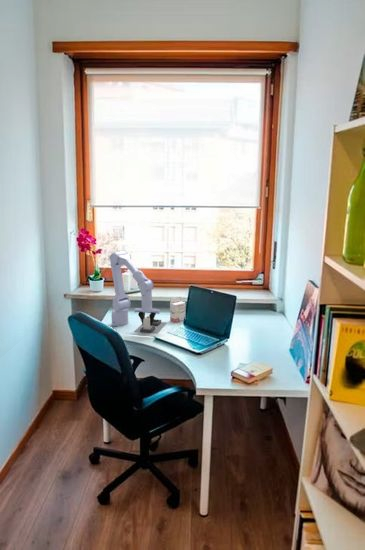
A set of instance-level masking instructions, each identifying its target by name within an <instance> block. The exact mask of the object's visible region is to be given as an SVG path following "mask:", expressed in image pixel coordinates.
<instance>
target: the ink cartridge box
mask: <svg viewBox="0 0 365 550" xmlns="http://www.w3.org/2000/svg"><path fill="white" fill-rule="evenodd" d="M181 297H182V296H176V297H171V298H170V302H169V320H170V322H173V323H179V322H183V321H185V320H184V315H185V316H186V302H185V301H182V300H181V299H182V298H181Z"/></svg>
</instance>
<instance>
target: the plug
mask: <svg viewBox="0 0 365 550" xmlns="http://www.w3.org/2000/svg"><path fill="white" fill-rule="evenodd" d="M143 329H148V330H151V329H152V326H150V316H149V315H147V316H145V318H144V319H143Z"/></svg>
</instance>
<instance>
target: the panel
mask: <svg viewBox="0 0 365 550" xmlns="http://www.w3.org/2000/svg"><path fill="white" fill-rule="evenodd" d="M167 324H168V322H166V321H165V322H164V321H162V319H155V318H154V320H153V325H152V329H151V330H148V329H143V325H142V324H141V325H139V326H138V327H137V328H136V329H135V330H134V331H133V333H141V334H155V335H157V334H159V333H160V332H161V331H162V329H163V328H164V327H165V326H166V325H167Z"/></svg>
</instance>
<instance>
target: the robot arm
mask: <svg viewBox="0 0 365 550" xmlns="http://www.w3.org/2000/svg"><path fill="white" fill-rule="evenodd" d="M109 261H110V262H109V263H110V268H111V273H112V275H111V276H112V281H113V285H114V286H113V287H114V293H115V295H114V296H113V298H112V308H113V310H112V311H111V326H113V327H118V326H126V325H128V324H129V310H130V307H131V306H132V304H131V300H130V298H129V295H128V294H126V293H125V287H124V280H123V275H122V274H123V273H122V267H123V265H124V266H125V267H126V268H127V269H128V270H129V271H130V273H131V274H132V278H133V279H134V280H135V282H136V283H137V285H138V289H139V292H140V294H141V308H140V307H138V308H137V307H136V308H134V309H133V310H134V313H138V314H137V315H138V317H139V318H140V321H141V325H143V319H144V318H145V317H146V314H149V315H148V316H150V326H152V325H153V320H154V319H155V317H156V315H159V314H160V313H161V310H160V309H157V308H153V294H152V292H153V291H152V290H154V286H155V285H154V284H155V283H154V282H153V280H152V279H149V278H148V277H147V276H146V275H145V274H144V273H143V271H142V270H140V269H139V270H138V268H137V267H136V265H135V264H134V262H133V260H132V259H131V255H130V254H129V252H128V251H127V250H122V251H116V252H115V251H114V252H112V253H110V255H109Z"/></svg>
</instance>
